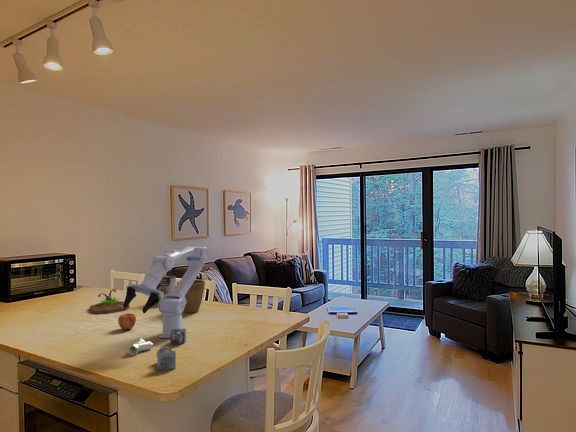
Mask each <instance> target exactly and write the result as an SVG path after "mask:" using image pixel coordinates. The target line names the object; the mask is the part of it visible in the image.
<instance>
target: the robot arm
mask: <svg viewBox="0 0 576 432" xmlns="http://www.w3.org/2000/svg"><path fill="white" fill-rule="evenodd" d="M184 259H185V262H186V266H187V267H188V268H187V270H186V271H185V273H184V274H183V276H181V278H180V280H179V281H180V282H179V281H178V282H179V283H178V285H177V284H176V288H175V289H174V290H173V292H170V293H168V294H166V295H165V297H164V293H163V292H161V291H158V290H157V286H158V284H159V283H160V281H161V279H162V278H163V276H165V274H166V272H168V271H172V269H173V267H174V266H176V265H178V264H180V263H181V262H182V260H184ZM208 259H209V248H208V246H192V245H188V246H185V248H183V249H181V250H179V251H178V250H176V249H173V250H171V251H170V252H169V253H164V254H163V255H157V256H156V257H153V258H152V263H151V266H150V269H149V271H148V272H147V274H146V276H145V278H144V279H143V280H142V281H141V283H140V284H138V283H128V284H127V286H126V296H125V299H124V301H123V302H124V304H123V307H124V308H127V307H128V305H129V304H131V302H132V301H133V300H134V299H135V298H136V297H137V294H136V293H138V294H139V293H140V294H142V295H145V296H149V297H148V299H147V300H146V302H145V304H144V306H142V307H143V308H142V314H146V313H147V312H148V311H149V309H151V308H152V307H153V306H155V305H157V309H158V312H160V314H161V316H162V333H161V334H160V335H159V336H158V338H160V339H163V338H165V339H169V337H170V335H171V329H183V315H182V314H183V313H184V308H185V304H186V303H187V302H186V298H185V297H184V296H185V295H186V293H187V292H188V290H189V288H190V287H191V285H192V284H193V282H194V280H197V277H198V276H199V274H200V273H201V271H202V268H203V266H205V263H206V262H207V261H208ZM159 298H160V299H161V300H160V301H159ZM158 302H159V304H157V303H158Z"/></svg>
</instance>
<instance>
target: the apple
mask: <svg viewBox="0 0 576 432" xmlns="http://www.w3.org/2000/svg"><path fill="white" fill-rule="evenodd" d="M136 321H137V316H136V315H135V314H134V313H123V314H121V315H119V317H118V319H117V323H118V325H119V328H121V330H122V331H125V330H132V329H133V327H134V326H135V324H136Z"/></svg>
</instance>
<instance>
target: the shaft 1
mask: <svg viewBox="0 0 576 432" xmlns="http://www.w3.org/2000/svg"><path fill="white" fill-rule="evenodd" d="M176 353H177V352H176V350H173V349H172V348H171V347H169V346H162V347H159V349H158V350H157V352H156V359H157V361H156V362H157V363H156V370H157V372H161V371H168V370H176V368H177V367H176V362H177V361H176V356H177V355H176Z"/></svg>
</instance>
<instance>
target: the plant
mask: <svg viewBox="0 0 576 432" xmlns="http://www.w3.org/2000/svg"><path fill="white" fill-rule="evenodd" d="M112 292H114V293H116V292H117V289H115V288H114V289H111V290H110V291H109V293H108V295H107V294H106V293H103V292H102V293H99V294H98V295H97V297H98V298H100V297H101V295H103V296H104V297H105V298H102V299H101V300H100V302H99V303H96V304H92V305H89V309H88V310H89V311H90V312H91V314H95V315H103V314H106V315H107V314H115V313H119V312H126V311H128V310H129V309H130V306H131V305H130V304H131V303H129V305H128V307H127V308H124V307H123V304H124V301H121V300H120V298H117V297H116V296H114V297H112ZM119 300H120V301H119Z"/></svg>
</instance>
